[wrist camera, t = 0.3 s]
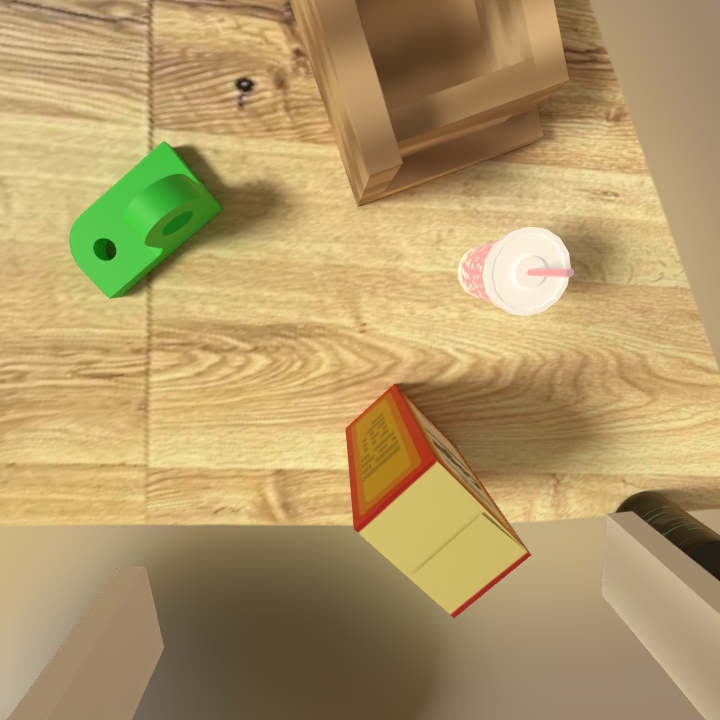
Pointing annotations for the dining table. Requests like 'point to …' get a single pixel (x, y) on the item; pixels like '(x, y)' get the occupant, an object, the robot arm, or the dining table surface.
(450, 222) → the dining table surface
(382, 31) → the wooden caddy with backboard
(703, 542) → the supplement bottle
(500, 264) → the beverage cup
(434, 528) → the baking soda box
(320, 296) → the dining table surface
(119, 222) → the mechanical part
